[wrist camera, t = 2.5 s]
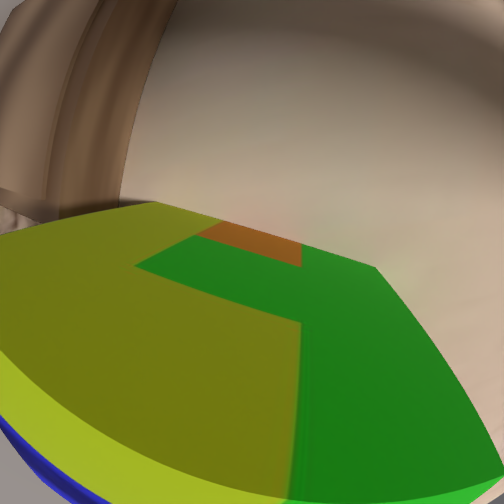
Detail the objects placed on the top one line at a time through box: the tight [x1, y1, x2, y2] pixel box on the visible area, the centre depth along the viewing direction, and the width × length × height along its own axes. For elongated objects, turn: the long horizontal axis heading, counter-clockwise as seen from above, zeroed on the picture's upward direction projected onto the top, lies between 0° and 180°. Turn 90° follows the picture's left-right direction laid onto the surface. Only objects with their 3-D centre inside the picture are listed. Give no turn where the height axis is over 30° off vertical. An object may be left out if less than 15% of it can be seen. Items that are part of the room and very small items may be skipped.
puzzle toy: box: [0, 202, 504, 504], centre depth 8 cm, size 10×10×10 cm
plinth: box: [0, 0, 178, 224], centre depth 9 cm, size 14×14×4 cm
